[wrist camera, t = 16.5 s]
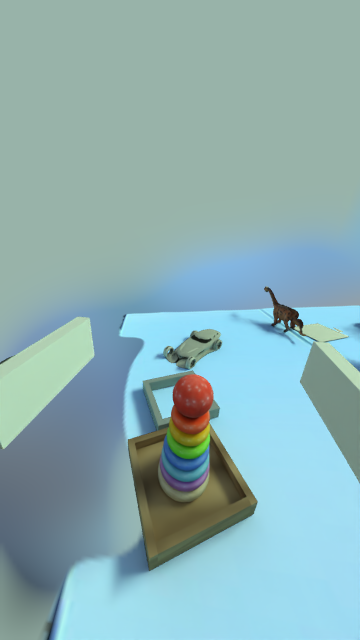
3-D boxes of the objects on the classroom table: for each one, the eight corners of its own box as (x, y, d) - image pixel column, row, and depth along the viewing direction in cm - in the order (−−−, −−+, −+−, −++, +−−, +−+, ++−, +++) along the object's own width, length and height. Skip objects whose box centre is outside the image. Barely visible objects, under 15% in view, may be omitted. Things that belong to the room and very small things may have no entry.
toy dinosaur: (264, 314, 106) (271, 285, 100) (318, 342, 80) (331, 305, 74) (250, 315, 103) (256, 285, 97) (301, 344, 77) (313, 306, 71)
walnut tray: (253, 514, 29) (257, 501, 28) (149, 571, 24) (149, 558, 23) (203, 427, 42) (205, 416, 41) (128, 451, 37) (127, 439, 35)
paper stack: (274, 320, 99) (274, 319, 99) (311, 315, 108) (311, 314, 108) (320, 343, 79) (320, 342, 79) (361, 335, 88) (361, 334, 88)
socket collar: (218, 416, 45) (219, 407, 44) (158, 435, 40) (158, 425, 39) (192, 378, 56) (192, 370, 55) (143, 389, 51) (142, 380, 50)
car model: (160, 358, 65) (160, 344, 63) (202, 333, 82) (203, 321, 80) (188, 373, 58) (189, 358, 56) (227, 343, 76) (229, 330, 74)
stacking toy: (152, 500, 29) (151, 397, 22) (163, 446, 36) (165, 356, 29) (208, 510, 28) (227, 407, 21) (208, 453, 36) (222, 362, 28)
